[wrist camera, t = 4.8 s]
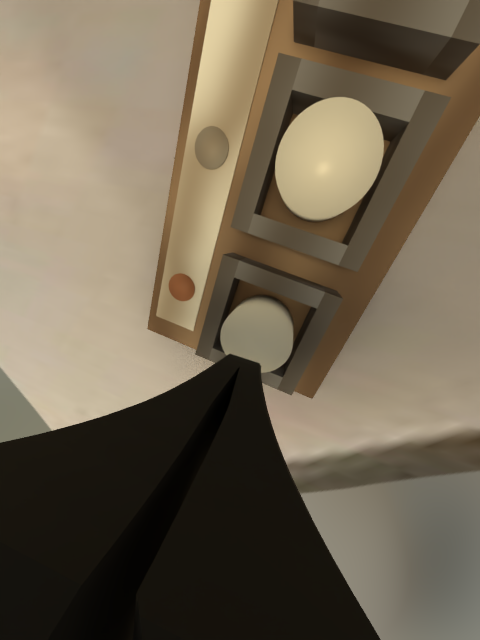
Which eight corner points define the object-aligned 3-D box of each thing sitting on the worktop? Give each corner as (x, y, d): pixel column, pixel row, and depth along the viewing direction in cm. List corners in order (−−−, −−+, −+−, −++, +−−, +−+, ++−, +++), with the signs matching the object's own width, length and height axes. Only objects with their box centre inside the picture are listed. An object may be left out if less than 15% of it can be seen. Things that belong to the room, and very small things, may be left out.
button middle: (383, 140, 10) (407, 113, 8) (340, 232, 12) (350, 231, 9) (298, 116, 10) (298, 83, 8) (268, 208, 12) (261, 201, 10)
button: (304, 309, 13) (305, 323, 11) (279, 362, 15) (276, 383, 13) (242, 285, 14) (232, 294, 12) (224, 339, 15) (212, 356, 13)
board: (653, -201, 7) (868, -468, 5) (311, 390, 18) (314, 418, 15) (254, -246, 9) (234, -469, 6) (154, 324, 19) (130, 339, 16)
